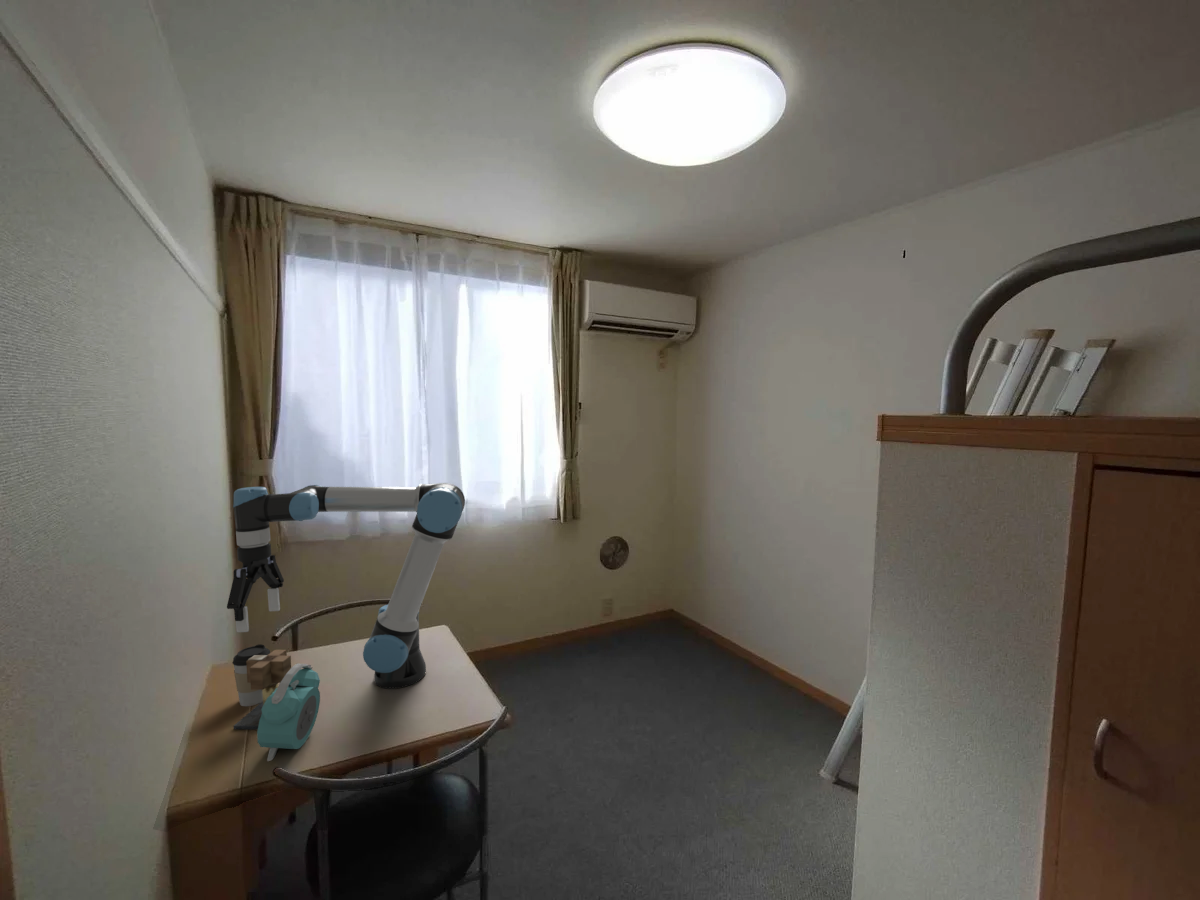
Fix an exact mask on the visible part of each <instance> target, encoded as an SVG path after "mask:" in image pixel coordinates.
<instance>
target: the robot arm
mask: <svg viewBox="0 0 1200 900" xmlns="http://www.w3.org/2000/svg"><path fill="white" fill-rule="evenodd" d="M465 505H466V498H465V495H464V493H463V491H462V490H461V489H460V487H459V486H457V485H455V484H453V483H450V482H438V483H420V484H419V485H417V486H416V487H415V486H406V487H405V486H402V487H401V486H322V485H320V484H312V485H311V484H310V485H307V486H305V487H303V488H300V489H297V490H296V491H292V492H290V493H289V492H288V493H275V494H274V493H273V494H272V493H268V489H267V487H265V486H248V487H241V488H237V489H236V490H235V491H234V492H233V506H232V507H233V512H234V513H233V514H234V521H235V523H234V524H235V535H236V536H235V537H236V545H237V546H238V547H237V548H236V551H237V552H236V554H237V561H239V562H241V563H242V567H241V568H234V570H233V578H232V584H231V587H230V591H229V595H228V600H227V604H226V609H227V610H233V611H234V621H235V630H236V633H248V632H249V631H250V626H249V625H250V624H249V612H248V611H249V610H248V606H246V603H247V602H248V601H247V600H248V598H249V596H250V592H251V590H252V588H253V585H254V584H255V583H256V582H257V580H258V579H260V578H261V579H262V580H263V581H264V582H265V583H266V585H267V586H268V587H269V588H268V589H267V591H266V592H267V601H268V612H279V611H280V610H281V603H280V588H282V587H283V586H284V580H285V579H284V577H283V575H282V572H281V571H280V568H279V566H278V563H277V560H276V555H275V554H272V546H271V545H272V544H271V543H270V542H271V540H272V539H271V529H270V523H274V522H298V521H299V522H303V521H307V520H310V521H311V520H313V519H315V518H317V517H316V516H317V514H318V513H326V512H327V513H328V512H330V513H331V512H338V513H339V512H341V513H342V512H343V513H345V512H346V513H347V512H348V513H349V512H351V513H352V512H353V513H357V512H359V513H361V512H363V513H365V512H366V513H369V512H370V513H372V512H375V513H376V512H377V513H378V512H380V513H381V512H384V513H386V512H389V513H392V512H394V513H396V512H399V513H401V512H402V513H403V512H405V513H406V512H408V513H409V512H410V513H411V512H412V513H413V512H415V513H416V514H415V518H414V520H413V523H412V526H411V528H412V530H413V532H414V535H413V537H412V541H411V543H410V546H409V549H408V552H407V553H406V557H405V559H404V562H403V564H402V568H401V571H400V572H399V575H398V578H397V580H396V583H395V586H394V588H393V591H392V594H391V596H390V600H389V602H388V604H385V605H383V606H381V607H380V608H378V614H377V618H376V620H375V623H374V625H373V628H372V632H371V633H370V636H369V638H368V640H367V642H365V644H364V646H363V651H362V657H363V662H365V665H366V666H367V667H368V668H369V669H370V670H372V671H374V676H373V677H374V684H375V685H376V686H378V687H380V688H383V689H400V688H405V687H408V686H411V685H413V684H416V683H417V682H419V681H420V680H422V679H423V678H424V677H425V675H426V674H425V672H426V673H427V665H426V661H425V659H424V656H423V654H422V651H421V649H420V622H419V621H420V620H419V619H420V618H419V615H420V608H421V605H422V603H423V601H424V598H425V595H426V593H427V590H428V588H429V586H430V585H429V584H430V582H431V580H432V577H433V574H434V573H435V569H436V567H437V563H438V562H439V558H440V555H441V553H442V550H443V548H444V546H445V543H446V542H449V541H450V540H452V539H453V536H454V534H455V531H456V529H457V526H458V524H459V521H460V520H461V517H462V515H463V511H464V509H465ZM424 674H425V675H424ZM423 676H424V677H423ZM422 677H423V678H422ZM421 678H422V679H421ZM419 679H420V680H419ZM418 680H419V681H418ZM416 681H417V682H416ZM415 682H416V683H415Z"/></svg>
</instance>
